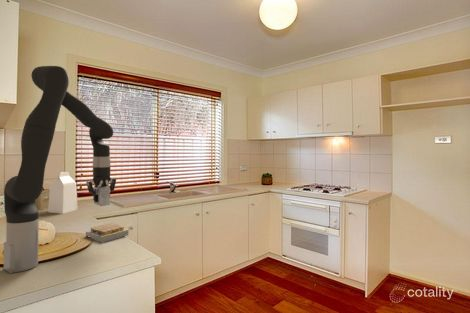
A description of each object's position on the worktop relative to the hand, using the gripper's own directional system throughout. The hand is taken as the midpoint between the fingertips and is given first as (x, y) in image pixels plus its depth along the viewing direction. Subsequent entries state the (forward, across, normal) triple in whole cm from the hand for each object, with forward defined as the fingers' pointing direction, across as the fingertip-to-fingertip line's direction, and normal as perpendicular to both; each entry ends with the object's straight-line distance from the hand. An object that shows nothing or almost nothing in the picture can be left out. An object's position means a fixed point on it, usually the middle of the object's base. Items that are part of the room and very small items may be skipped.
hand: (102, 201), depth 129 cm
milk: (+19, +14, +70) cm, 74 cm away
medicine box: (+2, 0, 0) cm, 2 cm away
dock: (+18, +4, +2) cm, 19 cm away
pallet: (+16, +4, +2) cm, 17 cm away
